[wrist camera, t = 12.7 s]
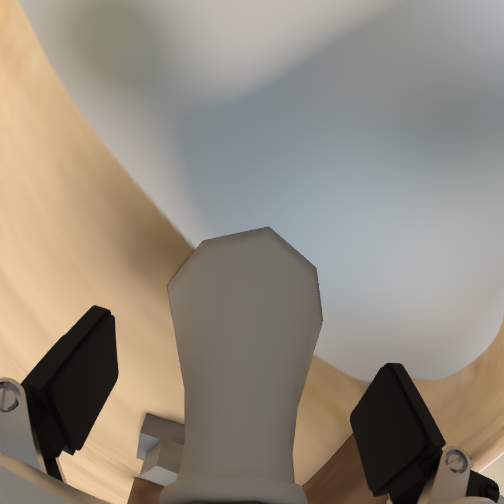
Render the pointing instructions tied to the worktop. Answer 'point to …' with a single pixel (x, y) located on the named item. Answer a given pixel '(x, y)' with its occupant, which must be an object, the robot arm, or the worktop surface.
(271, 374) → the flask
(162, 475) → the offcut top
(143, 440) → the tray
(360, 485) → the brown wooden corner wall
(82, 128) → the worktop surface
